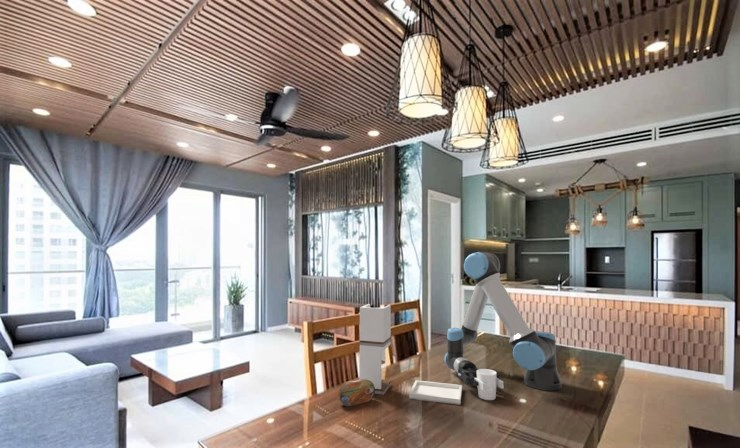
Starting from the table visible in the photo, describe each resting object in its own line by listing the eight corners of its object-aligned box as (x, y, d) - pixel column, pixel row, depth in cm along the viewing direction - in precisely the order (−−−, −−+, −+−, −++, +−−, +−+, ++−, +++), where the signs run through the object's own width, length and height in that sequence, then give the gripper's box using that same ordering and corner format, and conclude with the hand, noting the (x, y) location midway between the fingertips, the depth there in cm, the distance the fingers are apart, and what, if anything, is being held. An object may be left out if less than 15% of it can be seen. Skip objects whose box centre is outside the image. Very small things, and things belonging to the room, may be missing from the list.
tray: (462, 389, 155) (462, 385, 156) (460, 404, 140) (460, 399, 140) (415, 384, 161) (415, 380, 161) (409, 398, 146) (409, 393, 146)
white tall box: (383, 394, 150) (383, 308, 153) (359, 391, 153) (359, 307, 156) (390, 385, 161) (390, 304, 164) (368, 382, 164) (368, 303, 167)
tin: (340, 408, 137) (340, 385, 138) (337, 405, 140) (337, 382, 140) (375, 400, 144) (375, 378, 145) (371, 398, 147) (371, 376, 147)
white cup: (498, 401, 143) (497, 375, 144) (477, 400, 145) (477, 374, 145) (495, 394, 151) (495, 369, 152) (476, 392, 152) (475, 368, 153)
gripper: (485, 374, 168) (516, 393, 146) (444, 378, 163) (470, 398, 141) (485, 358, 168) (515, 374, 146) (444, 361, 164) (469, 378, 141)
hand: (493, 386), depth 144 cm, fingers closed on white cup, 7 cm apart
